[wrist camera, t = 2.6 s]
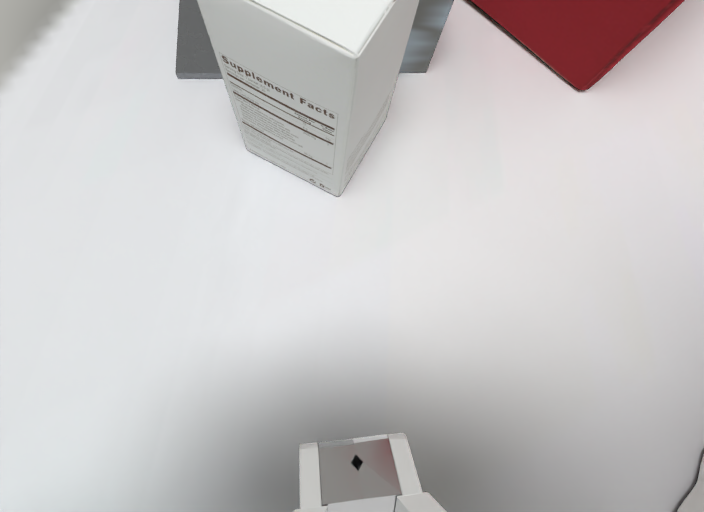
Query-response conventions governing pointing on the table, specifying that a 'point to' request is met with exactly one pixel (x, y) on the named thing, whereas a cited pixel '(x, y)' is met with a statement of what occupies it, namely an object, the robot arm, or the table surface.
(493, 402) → the table surface
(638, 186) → the table surface
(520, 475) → the table surface
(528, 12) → the storage cube
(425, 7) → the shelf bay
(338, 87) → the supplement box
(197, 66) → the bookend
